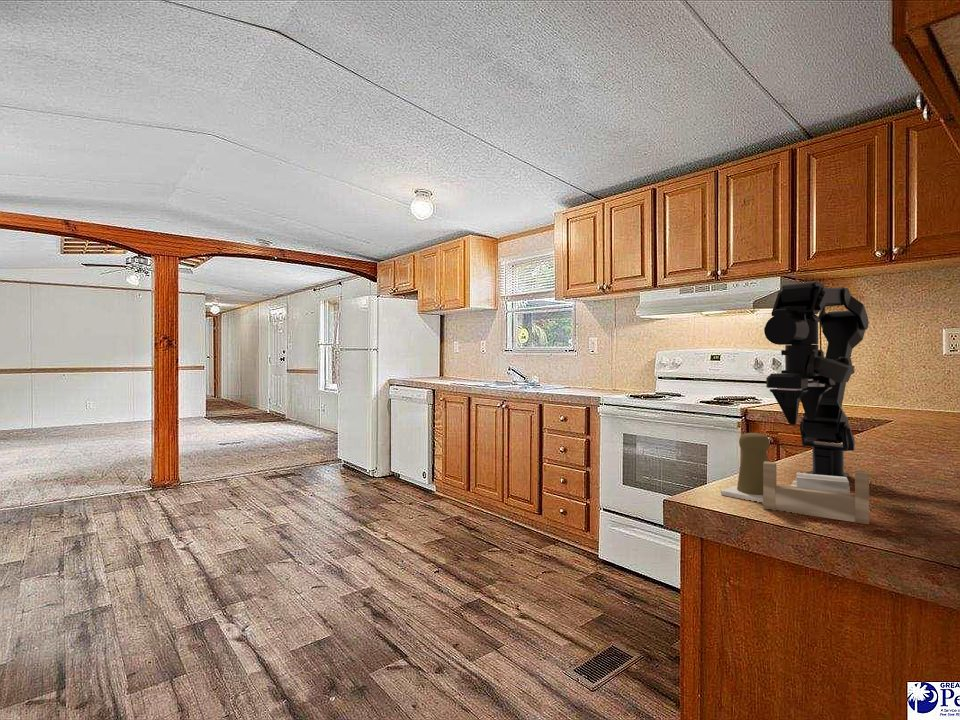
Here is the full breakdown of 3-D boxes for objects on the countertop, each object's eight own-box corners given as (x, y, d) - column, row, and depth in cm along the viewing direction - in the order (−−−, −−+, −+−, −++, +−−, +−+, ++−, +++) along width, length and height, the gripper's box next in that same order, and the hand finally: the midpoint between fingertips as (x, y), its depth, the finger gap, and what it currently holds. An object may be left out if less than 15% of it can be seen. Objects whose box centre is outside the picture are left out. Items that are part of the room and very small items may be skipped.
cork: (732, 491, 100) (732, 433, 100) (742, 485, 104) (742, 430, 104) (767, 496, 96) (766, 436, 96) (776, 490, 100) (776, 433, 100)
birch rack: (765, 506, 93) (764, 461, 93) (869, 521, 84) (868, 471, 84) (763, 508, 91) (763, 463, 91) (869, 524, 82) (869, 473, 82)
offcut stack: (793, 490, 103) (793, 471, 103) (849, 497, 97) (849, 477, 97) (790, 496, 98) (790, 476, 98) (848, 504, 93) (848, 483, 93)
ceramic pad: (741, 487, 106) (741, 483, 106) (787, 495, 99) (787, 491, 99) (720, 494, 101) (720, 490, 101) (767, 504, 94) (767, 499, 94)
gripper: (830, 343, 93) (830, 431, 93) (864, 344, 105) (865, 422, 105) (764, 345, 102) (765, 425, 102) (803, 345, 113) (803, 417, 114)
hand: (802, 422), depth 105 cm, fingers open, 9 cm apart
